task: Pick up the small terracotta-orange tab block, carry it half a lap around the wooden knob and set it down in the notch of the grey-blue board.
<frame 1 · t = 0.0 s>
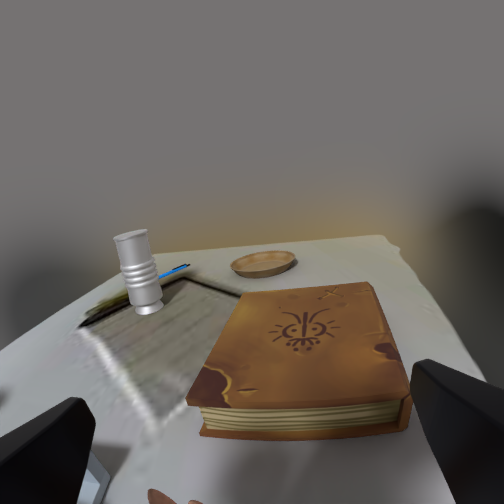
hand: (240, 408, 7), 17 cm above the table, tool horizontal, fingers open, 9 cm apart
plant saucer: (264, 271, 71), on the table
notched board: (61, 502, 15), on the table
diary: (308, 370, 34), on the table
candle: (149, 308, 58), on the table
pen: (162, 278, 78), on the table
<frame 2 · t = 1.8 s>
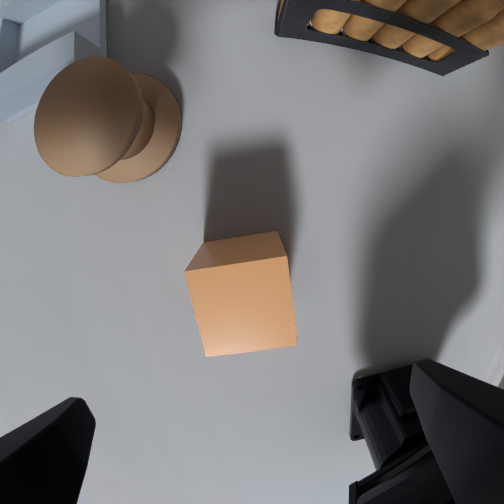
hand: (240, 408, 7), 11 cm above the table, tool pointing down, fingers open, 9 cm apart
notched board: (54, 42, 13), on the table
wooden knob: (129, 128, 15), on the table
ammunition clip: (366, 40, 14), on the table
tab block: (246, 271, 17), on the table
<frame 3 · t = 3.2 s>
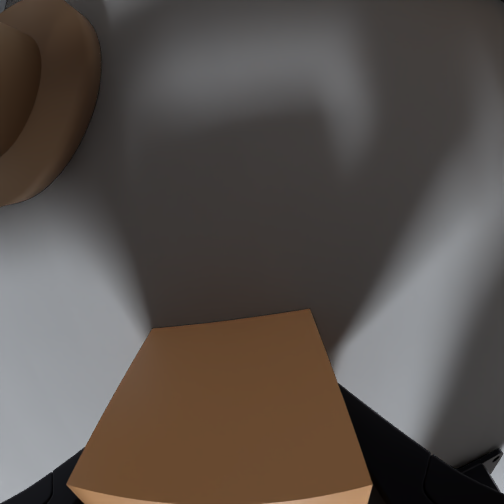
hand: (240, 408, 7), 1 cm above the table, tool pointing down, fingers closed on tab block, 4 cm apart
wooden knob: (15, 100, 6), on the table
tab block: (242, 383, 8), on the table, touching gripper
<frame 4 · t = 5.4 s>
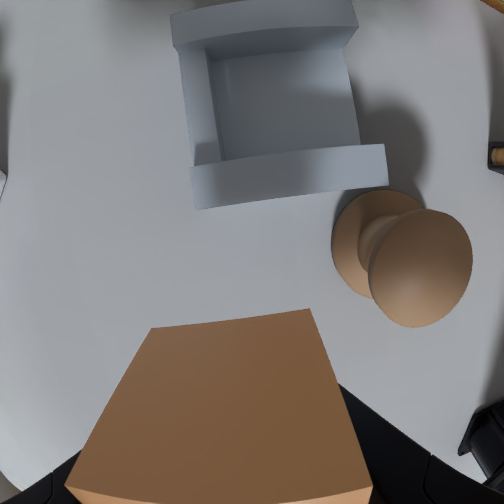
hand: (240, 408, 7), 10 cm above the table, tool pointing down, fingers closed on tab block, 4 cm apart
notched board: (274, 106, 15), on the table
wooden knob: (381, 242, 16), on the table
tab block: (241, 383, 8), point 9 cm above the table, touching gripper
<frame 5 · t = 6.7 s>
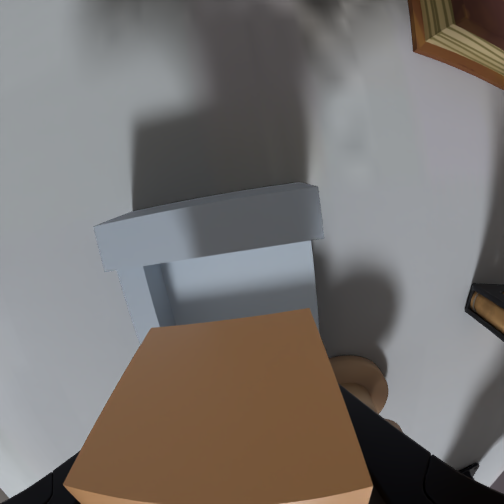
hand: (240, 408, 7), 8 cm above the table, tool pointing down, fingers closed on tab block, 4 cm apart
notched board: (229, 288, 15), on the table
wooden knob: (336, 395, 17), on the table
tab block: (241, 383, 8), point 7 cm above the table, touching gripper
when the fingers open (3 cm above the table, at t = 7.8 s): tab block drops 1 cm, resting on notched board.
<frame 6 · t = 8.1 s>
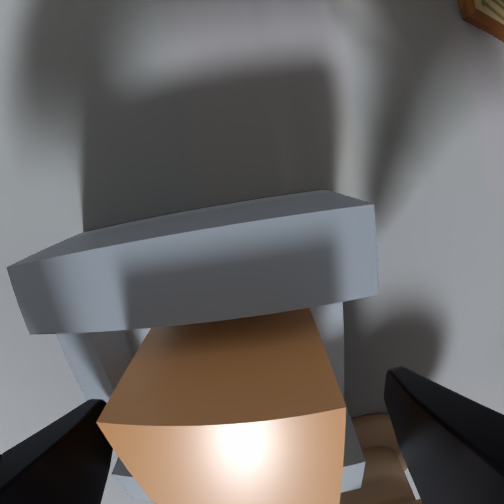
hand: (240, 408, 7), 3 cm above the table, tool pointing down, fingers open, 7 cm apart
notched board: (220, 340, 10), on the table
wooden knob: (356, 454, 12), on the table
tab block: (242, 354, 9), point 1 cm above the table, touching notched board
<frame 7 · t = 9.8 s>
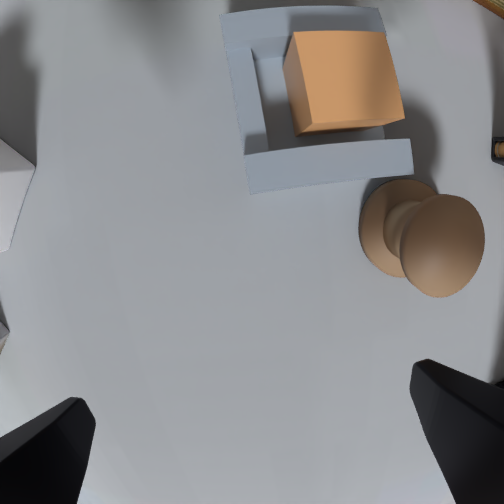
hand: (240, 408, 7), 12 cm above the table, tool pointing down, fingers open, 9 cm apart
notched board: (307, 103, 16), on the table
wooden knob: (401, 226, 18), on the table
tab block: (324, 98, 15), point 1 cm above the table, touching notched board
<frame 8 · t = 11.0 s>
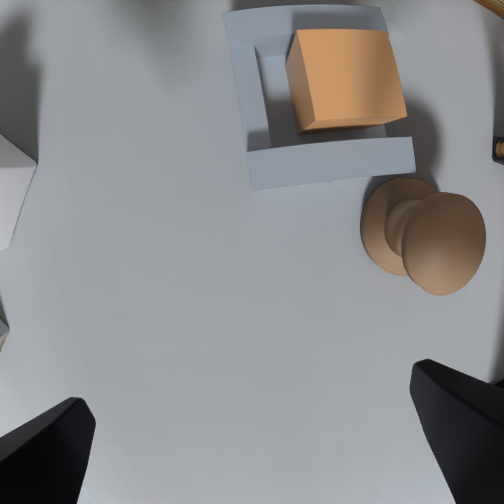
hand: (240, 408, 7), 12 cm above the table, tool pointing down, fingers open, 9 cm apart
notched board: (309, 101, 16), on the table
wooden knob: (403, 225, 18), on the table
tab block: (327, 97, 15), point 1 cm above the table, touching notched board
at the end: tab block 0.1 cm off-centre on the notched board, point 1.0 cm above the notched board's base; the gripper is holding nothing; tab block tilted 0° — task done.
